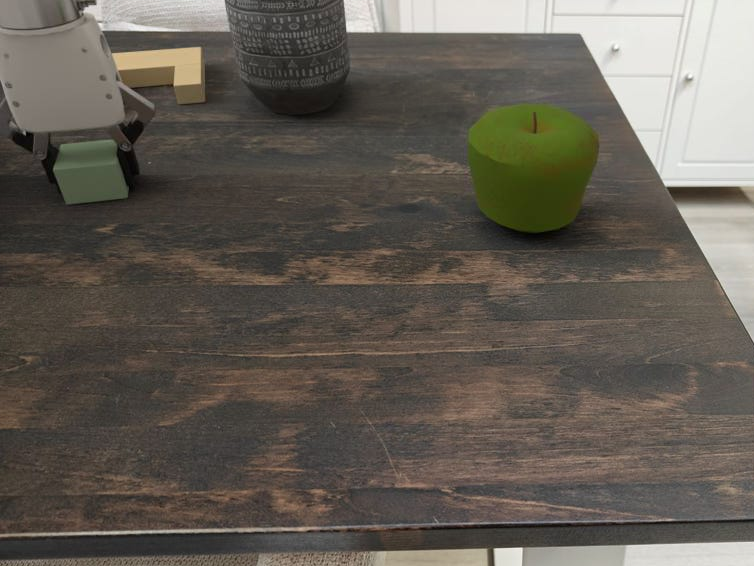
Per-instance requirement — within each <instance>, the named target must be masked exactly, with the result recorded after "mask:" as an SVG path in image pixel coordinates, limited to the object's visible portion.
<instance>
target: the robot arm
mask: <svg viewBox="0 0 754 566" xmlns="http://www.w3.org/2000/svg"><path fill="white" fill-rule="evenodd" d="M97 5H98V1H97V0H0V83H1V86H2V90H3V92H4V98H3V100H1V103H0V135H1V136H2V137H4V138H6V139H10V140H12V141H11V142H13V143H14V144H15V145H17V146H19V147H20V148H22V149H24V150H26V151H28V152H29V153H31V154H32V155H33V157H34V158H35V159H36V160H39V161H40V162H41V165H42V168H43V170H44V172H45V174H46V178H47V179H48V182H49V184H50V185H55V187H56V190H57V192H58V195H63V194H62V192H61V189H60V187H59V184H58V182H57V179H56V177H55V174H54V172H53V168H54V165H55V162H56V159H57V156H58V152H59V149H60V148H57V146H54V144H52V133H61V132H63V133H64V132H73V131H74V132H75V131H85V130H95V129H103V130H104V131H105V132H106V133H107V134H108V136H109V137H110V138H111V140H112V139H113V140H114V142H115V143H116V144H117V152H116V155H117V157H118V160H119V163H120V166H121V169H122V172H123V175H124V178H125V182H126V185H127V186H129V188H132V187H135V184H136V183H135V182H136V178H137V177H136V176H139V175H140V174H141V169H140V165H139V162H138V158H137V155H136V152H135V149H134V144H135V143H136V142H137V140H138V139H139V137H140V136H141V135H142V134H143V132H144V130H145V128H146V127H147V126H148V125H149V124H150V122H151V121H152V120H153V118H154V117H155V116H156V111H157V107H156V105H155V104H154V103H153V102H151V101H150V100H148V99H146V98H145V97H144V96H142V95H140V94H139V93H138V92H136V91H134V90H133V89H132V88H129V87H127V86H126V85H124V84H123V83H122V80H121V77H120V74H119V72H118V69H117V66H116V64H115V61H114V58H113V56H112V53H113V52H112V51H111V49H110V46H109V44H108V41H107V39H106V37H105V34H104V33H103V30H102V28H101V26H100V24H99V22H98V20H97V19H96V17H95V15H94V14H93V13H90V12H84V11H85V10H86V8H89V7H90V6H91V7H92V6H97ZM127 107H130V108H131V109H133V110H134V111H135V112H136V114H135V115H134V117H132V119H130V121H129V122H128V124H127V123H125V122H124V121H125V119H126V114H125V109H126V108H127ZM12 117H13V119H14V122H15V123H14V122H13V121H12V120H11V118H12Z"/></svg>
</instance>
